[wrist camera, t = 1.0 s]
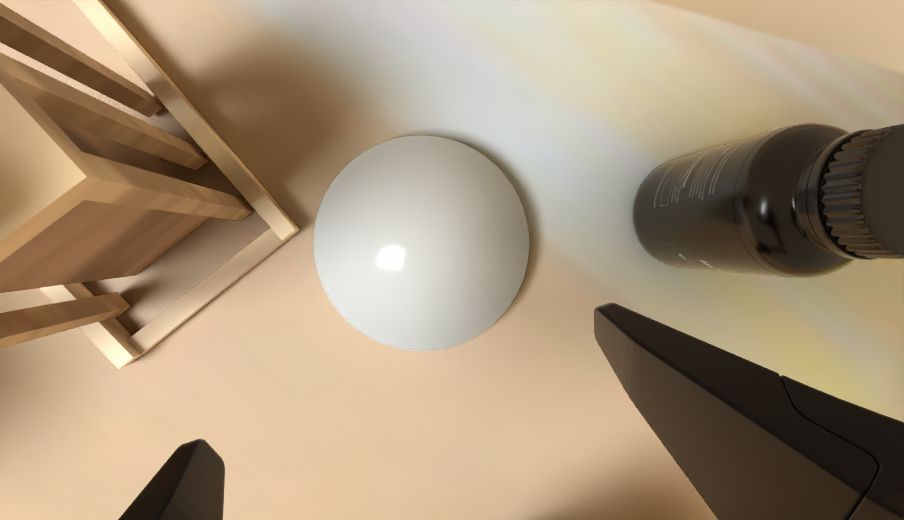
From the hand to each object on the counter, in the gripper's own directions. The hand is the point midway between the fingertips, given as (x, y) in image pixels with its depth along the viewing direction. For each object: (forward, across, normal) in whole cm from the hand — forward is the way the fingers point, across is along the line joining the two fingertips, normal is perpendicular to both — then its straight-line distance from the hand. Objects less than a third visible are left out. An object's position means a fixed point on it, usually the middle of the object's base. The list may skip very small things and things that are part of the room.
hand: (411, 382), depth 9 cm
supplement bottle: (+14, -18, +8) cm, 24 cm away
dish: (+14, -2, +5) cm, 15 cm away
